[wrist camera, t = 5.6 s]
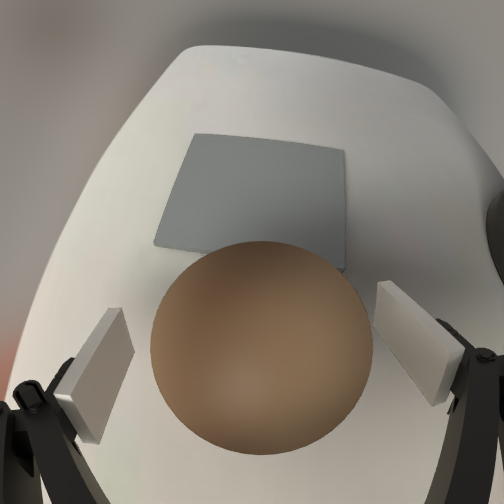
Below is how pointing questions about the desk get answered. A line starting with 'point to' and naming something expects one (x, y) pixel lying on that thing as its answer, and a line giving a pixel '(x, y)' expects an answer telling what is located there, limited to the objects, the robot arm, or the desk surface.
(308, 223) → the slate mat
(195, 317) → the walnut canister
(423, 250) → the desk surface
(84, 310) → the desk surface
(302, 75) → the desk surface
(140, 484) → the desk surface
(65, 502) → the robot arm
